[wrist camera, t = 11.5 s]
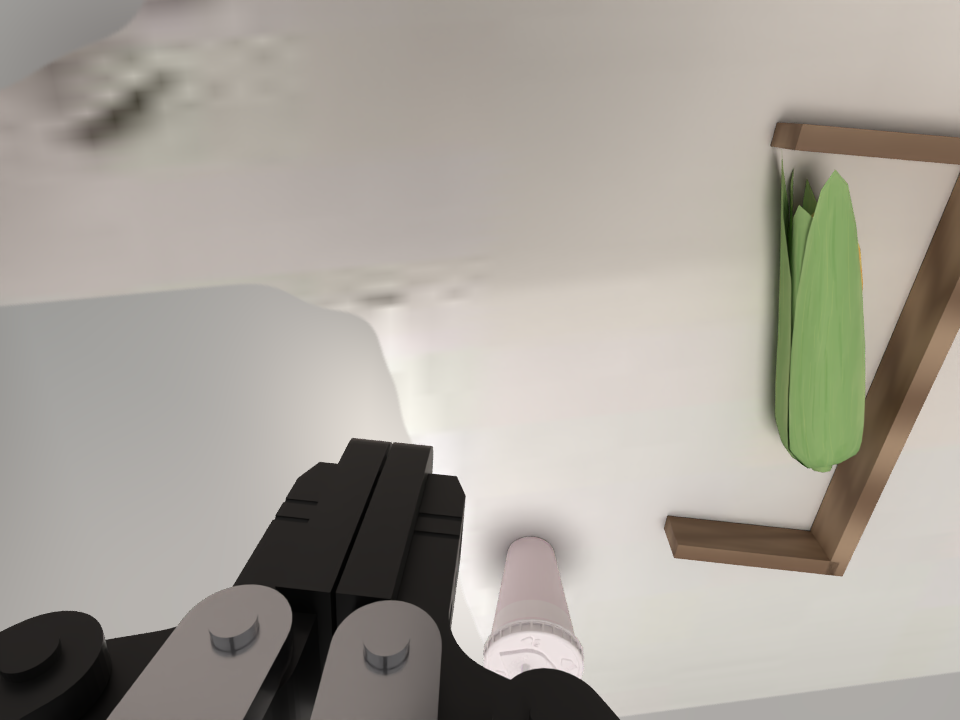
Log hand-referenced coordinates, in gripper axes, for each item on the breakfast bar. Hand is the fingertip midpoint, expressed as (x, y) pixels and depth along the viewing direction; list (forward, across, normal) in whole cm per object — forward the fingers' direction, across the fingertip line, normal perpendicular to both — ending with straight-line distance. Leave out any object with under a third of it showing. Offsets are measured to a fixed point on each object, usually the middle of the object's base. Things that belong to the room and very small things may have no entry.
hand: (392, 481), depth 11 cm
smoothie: (+25, -6, +25) cm, 36 cm away
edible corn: (+26, -20, +3) cm, 33 cm away
